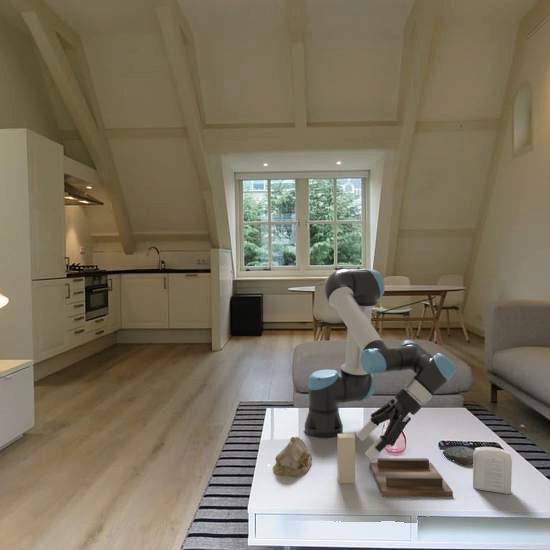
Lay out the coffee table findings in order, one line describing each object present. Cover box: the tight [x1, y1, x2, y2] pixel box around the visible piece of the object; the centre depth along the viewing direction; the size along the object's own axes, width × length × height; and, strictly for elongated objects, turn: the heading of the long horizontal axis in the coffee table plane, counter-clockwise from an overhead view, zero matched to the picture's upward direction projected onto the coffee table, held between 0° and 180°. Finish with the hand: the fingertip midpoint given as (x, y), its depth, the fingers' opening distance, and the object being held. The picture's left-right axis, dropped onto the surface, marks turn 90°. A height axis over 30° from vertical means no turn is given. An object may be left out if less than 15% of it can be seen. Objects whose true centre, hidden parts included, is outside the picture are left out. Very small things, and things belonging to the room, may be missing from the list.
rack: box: [369, 457, 454, 497], centre depth 134 cm, size 18×20×4 cm
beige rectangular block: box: [336, 433, 356, 484], centre depth 134 cm, size 3×5×14 cm, turn 89°
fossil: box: [442, 445, 475, 466], centre depth 149 cm, size 10×13×4 cm
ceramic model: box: [272, 436, 313, 478], centre depth 143 cm, size 14×11×10 cm
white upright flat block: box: [472, 446, 513, 495], centre depth 129 cm, size 10×4×12 cm, turn 72°
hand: (363, 446), depth 133 cm, fingers open, 13 cm apart
